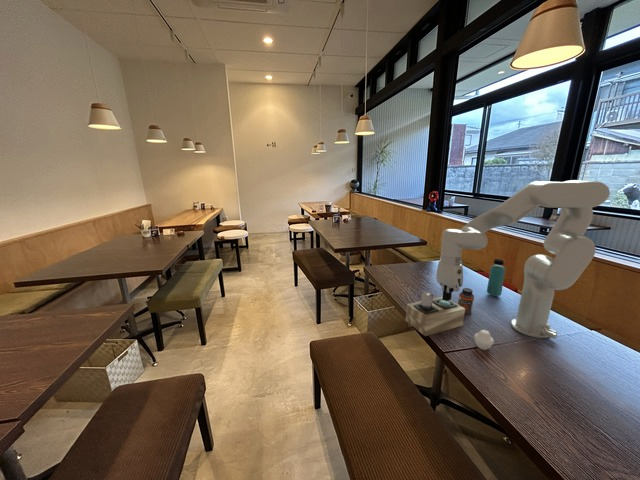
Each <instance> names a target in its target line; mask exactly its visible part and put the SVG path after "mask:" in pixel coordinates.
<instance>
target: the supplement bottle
mask: <svg viewBox="0 0 640 480" xmlns="http://www.w3.org/2000/svg"><path fill="white" fill-rule="evenodd" d="M474 300H475V295H474V294H473V289H472V288H469V287H463V288H462V290H461V292H459V296H458V301H457V304H458V305H460V306H461V307H463V308H465V314H464V315H471V314H472V312H473V308H474V307H473V306H474Z"/></svg>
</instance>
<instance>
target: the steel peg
mask: <svg viewBox="0 0 640 480" xmlns="http://www.w3.org/2000/svg"><path fill="white" fill-rule="evenodd" d="M433 298H434V294H433V293H431V292H430V291H423V292H421V298H420V299H421V300H420V301H421V307H420V308H421V309H423V310H424V311H430V310H432V303H433Z"/></svg>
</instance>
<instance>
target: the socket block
mask: <svg viewBox="0 0 640 480" xmlns="http://www.w3.org/2000/svg"><path fill="white" fill-rule="evenodd" d="M440 300H443V295H441V296H438V297H433V303H432V310H430V311H424V310H423V309H421V308H420V307H421V300H419V301H416V302H411V303H407V304H406V309H405V310H406V311H405V322H407V323H408V324H409V325H410V326H411V327H413V328H414V329H415V330H417V331H418V332H419V333H420V334H421V335H423V336H424V337H427V336H431V335H435V334H438V333H443V332H445V331H448V330H451V329H455V328H459V327H462V326H464V321H465V320H464V319H465V315H466V314H465V308H463V307H461V306H460V305H458V303H456V302H454V301H452V299H451V300H449V301H448V302H450V306H446V307H444V306H443V305H441V304H439V301H440ZM430 334H431V335H430Z"/></svg>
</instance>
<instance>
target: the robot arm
mask: <svg viewBox="0 0 640 480" xmlns="http://www.w3.org/2000/svg"><path fill="white" fill-rule="evenodd" d="M610 191H611V190H610V188H609V186H608V185H607V184H605V183H603V182H601V181H595V180H583V179H582V180H578V179H571V180H565V181H548V180H535V181H532V182H530V183H528V184H527V185H525V186H524V187H522V188H521V189H520V190H518V191H517V192H515V194H513V195H512V196H510V197H508V199H506V200H504V201H503V202H502V203H501V204H499V205H497V206H496V207H494V208H491V209H490V210H488V211H486V212H484V213H481V214H480V215H477V216H476V217H474V218H472V220H470V221H469V222H467V224H465V225H463V226H462V227H461V229H457V228H445V229H444V230H443V231H442V233H441V245H440V246H441V247H440V255H439V256H440V259H439V261H438V263H437V269H436V276H435V277H436V278H435V279H436V282H437V283H438V284H439V285H440V286H441V290H442V296H443V300H445V301H449V300H451V301H452V294H453V293H454V292H456V293H457V292H458V293H459V292H460V288H461V287H463V285H464V269H463V267H464V266H463V264H462V263H463V260H462V250H463V249H466V250H472V251H479V250H482V249H484V248H486V246H488V242H489V241H488V240H489V239H488V237H487V235H486V234H485V233H486V232H488V231H490V230H492V229H494V228H497V227H503V226H508V225H513V224H516V223H517V222H519V221H520V220H522V219H523V218H525V217H526V216H527V215H529V214H530V213H532V212H533V211H535V210H536V209H538V208H539V207H545V208H555V209H560V214H559V217H558V219H557V221H556V222H555V223H554V225H553V226H552V228H551V230H550V231H549V233H548V234H547V235H546V237H545V238H544V241H543V247H544V248H543V249H545V250H546V251H547V252H548V253H550V254H552V255H554V258H553V257H551V256H549V255H546V254H540V253H539V254H534V255H531V256H530V257H528V259H526V261H525V263H524V265H523V266H524V267H523V273H524V274H523V284H522V286H523V287H522V290H521V296H520V301H519V304H518V311H517V316H516V318H513V319H512V320H511V321H510V325H511V327H512V329H514V330H515V331H517V332H519V333H520V334H523V335H526V336H527V337H528V336H529V337H531V338H536V339H546V338H549V337H550V338H552V339H554V340H555V339H557V337H558V331H556V330H555V329H552V328H551V324H550V323H548V321H549V317H550V312H551V309H552V305H553V300H554V297H555V290H556V291H563V290H567V289H569V288H570V287H571V286H573V285H574V284H575V283H576V281H578V279H579V278H580V276H581V275H582V274H583V272H584V271H585V270H586V269H587V267H588V266H589V264H590V263H591V262H592V260H593V259H594V257H595V254H596V251H597V250H596V244H595V243H594V241H593V240H592V239H591V238H589V237H587V236H584V235H585V233H586V231H587V230H588V229H589V227H590V226H591V223H592V222H593V218H594V217H593V216H594V210H593V208H596V207H598V206H600V205H603V204H604V203H605V202H606V201H607V200H608V199H609V197H610V193H611V192H610Z"/></svg>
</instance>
